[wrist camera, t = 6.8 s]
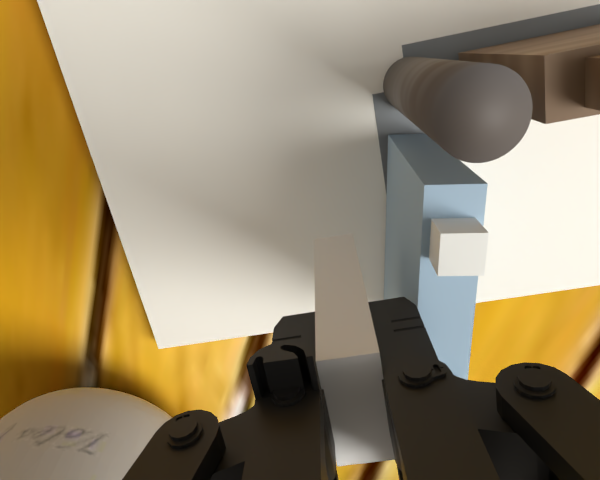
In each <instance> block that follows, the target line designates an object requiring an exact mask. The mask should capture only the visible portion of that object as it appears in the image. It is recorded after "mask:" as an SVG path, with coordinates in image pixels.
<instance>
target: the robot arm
mask: <svg viewBox="0 0 600 480" xmlns="http://www.w3.org/2000/svg"><path fill="white" fill-rule="evenodd" d="M314 276H315V312H309V313H302V314H296V315H289V316H283V317H282V318H281V319H280V321H279V322H278V323H277V325H276V326H275V327H274V331H273V338H272V340H273V342H272V344H271V345H268V346H266V347H264V348H262V349H260V350H258V351H257V352H256V353H255V354H254V355H253V356H252V357H250V359H249V361H248V363H247V369H248V373H249V376H250V380H251V384H252V387H253V391H254V395H255V405H254V406H253V407H252V408H250V409H249V410H247V411H246V412H244V413H242V414H240V415H237V416H235V417H232V418H230V419H227V420H225V421H222V422H219V423H218V419H217V417H216V416H214V415H213V414H212V413H211V412H208V411H204V410H193V411H187V412H184V413H181V414H179V415H176V416H174V417H173V418H171V419H170V420H168V421H166V422H165V423H164V424H163V425H162V426H161V427H160V428H159V429H158V430H157V431H156V432H155V434H154V435H153V437H152V438H151V439H150V441H149V442H148V444H147V445H146V446H145V448H144V449H143V451H142V452H141V453H140V455H139V456H138V458H137V459H136V461H135V462H134V463H133V465H132V466H131V468H130V469H129V470H128V472H127V473H126V475H125V476H124V478H123V479H122V480H338V475H337V470H336V462H337V466H344V465H352V464H362V463H370V462H378V461H386V460H394V459H395V461H396V463H397V468H398V475H399V480H600V400H599V399H598V398H596V397H595V396H594V395H592V394H591V393H590V392H589V391H587V390H586V389H585V388H583V387H582V386H581V385H580V384H578V383H577V382H576V381H574V380H573V379H572V378H571V377H569V376H568V375H567V374H565V373H563V372H562V371H560V370H558V369H556V368H554V367H551V366H547V365H544V364H540V363H520V364H514V365H511V366H509V367H507V368H505V369H503V370H501V371H500V373H499V374H498V375H497V377H496V383H490V382H477V381H471V380H466V379H463V378H460V377H457V376H455V375H453V373H452V371H451V370H450V369H449V367H448V366H447V365H446V364H445V363H443V362H441V361H439V360H438V357H437V355H436V352H435V350H434V348H433V345H432V343H431V340H430V338H429V335H428V333H427V331H426V328H425V327H424V323H423V321H422V318H421V316H420V314H419V311H418V309H417V306H416V305H415V304H414V303H412V302H411V301H410V300H408V299H407V298H405V297H398V298H392V299H385V300H379V301H372V302H368V299H367V295H366V291H365V286H364V282H363V277H362V273H361V269H360V264H359V260H358V256H357V251H356V247H355V242H354V238H353V234H352V233H351V234H345V235H339V236H333V237H327V238H321V239H315V240H314Z"/></svg>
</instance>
